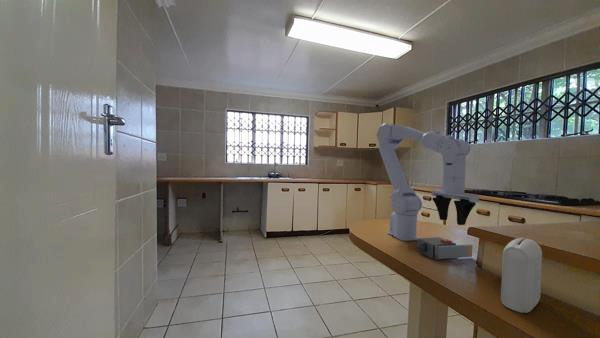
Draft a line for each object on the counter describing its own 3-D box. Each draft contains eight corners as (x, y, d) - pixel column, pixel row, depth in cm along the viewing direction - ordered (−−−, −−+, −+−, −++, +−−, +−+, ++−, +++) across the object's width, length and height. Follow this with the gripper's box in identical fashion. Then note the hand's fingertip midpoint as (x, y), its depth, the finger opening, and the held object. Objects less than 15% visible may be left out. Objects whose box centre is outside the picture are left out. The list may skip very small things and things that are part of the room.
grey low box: (414, 251, 70) (414, 236, 70) (438, 249, 72) (439, 235, 72) (429, 259, 64) (430, 243, 64) (455, 257, 66) (456, 241, 66)
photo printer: (514, 290, 49) (516, 232, 49) (543, 300, 45) (545, 238, 45) (497, 304, 43) (499, 239, 43) (528, 317, 40) (531, 246, 39)
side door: (434, 258, 64) (434, 245, 64) (469, 256, 67) (470, 243, 67) (436, 260, 63) (437, 246, 63) (472, 257, 66) (472, 244, 66)
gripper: (424, 176, 76) (423, 217, 76) (465, 179, 62) (463, 228, 62) (442, 177, 78) (440, 216, 78) (485, 179, 64) (483, 228, 64)
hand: (451, 222), depth 70 cm, fingers open, 6 cm apart
